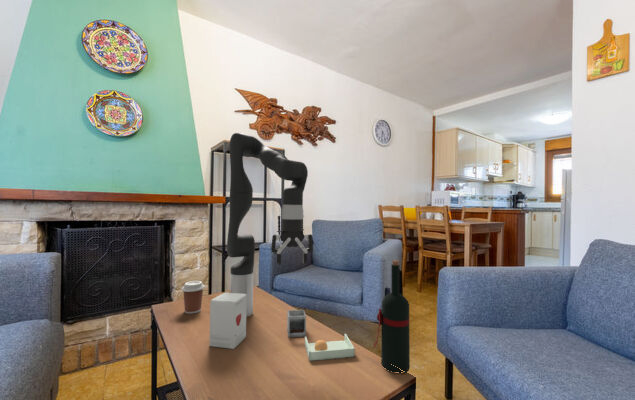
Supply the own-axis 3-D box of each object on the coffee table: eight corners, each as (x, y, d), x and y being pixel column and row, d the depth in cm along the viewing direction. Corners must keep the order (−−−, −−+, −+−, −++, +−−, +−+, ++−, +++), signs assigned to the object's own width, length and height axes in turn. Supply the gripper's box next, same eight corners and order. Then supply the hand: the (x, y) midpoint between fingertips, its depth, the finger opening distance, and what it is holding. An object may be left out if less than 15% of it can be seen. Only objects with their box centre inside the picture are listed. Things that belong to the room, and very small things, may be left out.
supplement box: (234, 349, 89) (234, 302, 89) (208, 346, 91) (209, 300, 91) (246, 336, 98) (247, 293, 98) (223, 334, 100) (224, 291, 100)
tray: (304, 344, 93) (304, 336, 93) (345, 341, 95) (345, 333, 95) (309, 360, 83) (309, 352, 83) (354, 356, 85) (354, 348, 85)
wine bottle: (373, 356, 86) (373, 257, 86) (408, 360, 84) (408, 258, 84) (373, 370, 78) (373, 262, 79) (411, 375, 76) (411, 264, 77)
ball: (321, 338, 90) (314, 337, 87) (331, 343, 87) (324, 342, 84) (318, 351, 89) (310, 351, 86) (328, 356, 86) (320, 356, 83)
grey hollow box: (287, 329, 104) (287, 310, 104) (303, 328, 105) (304, 309, 105) (288, 337, 98) (288, 317, 98) (305, 336, 99) (306, 316, 99)
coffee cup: (199, 305, 128) (200, 278, 128) (207, 311, 121) (208, 283, 122) (178, 310, 122) (178, 282, 122) (185, 316, 115) (185, 287, 116)
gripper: (310, 217, 104) (310, 261, 103) (271, 217, 101) (271, 262, 101) (314, 218, 96) (313, 266, 96) (272, 218, 94) (271, 267, 93)
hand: (291, 264), depth 98 cm, fingers open, 8 cm apart
